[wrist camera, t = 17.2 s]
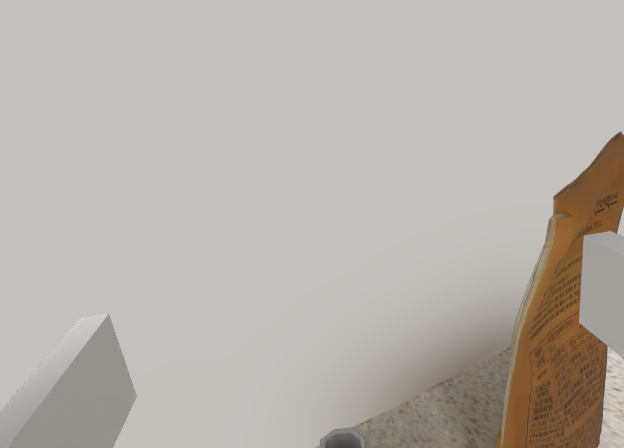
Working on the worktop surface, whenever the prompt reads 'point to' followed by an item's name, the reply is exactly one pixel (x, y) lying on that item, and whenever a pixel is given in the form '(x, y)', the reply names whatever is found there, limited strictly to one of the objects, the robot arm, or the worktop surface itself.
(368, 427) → the worktop surface
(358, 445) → the flask
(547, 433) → the pancake mix bag
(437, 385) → the worktop surface
